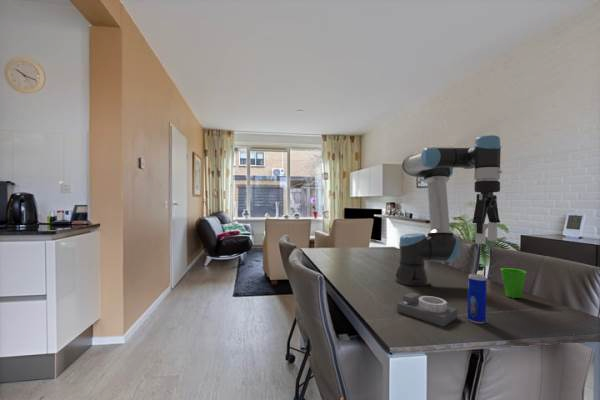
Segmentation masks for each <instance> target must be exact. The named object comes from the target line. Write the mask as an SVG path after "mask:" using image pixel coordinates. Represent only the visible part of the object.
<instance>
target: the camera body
mask: <svg viewBox="0 0 600 400" xmlns="http://www.w3.org/2000/svg"><path fill="white" fill-rule="evenodd" d="M396 312H397V313H400V314H404V315H407V316H410V317H412V318H415V319H418V320H419V319H420V320H422V321H424V322H427V323H431V324H434V325H436V326H440V327H446V326H447V325H448V324H450V323H452V322H453V321H455V320H457V319H458V308H455V307H451V306H449V305H448V302H447V300H445V299H443V298H440V297H437V296H432V295H431V296H430V295H420V293H417V292H416V293H415V292H412V291H411V292H409V293H407V294H403V300H401V301H399V302H397V303H396Z"/></svg>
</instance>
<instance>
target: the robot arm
mask: <svg viewBox="0 0 600 400" xmlns="http://www.w3.org/2000/svg"><path fill="white" fill-rule="evenodd" d="M501 148H502V146H501V139H500V136H499V135H494V134H493V135H492V134H490V135H481V136H478V137H476V138H475V140H474V146H472V147H425V148H424V149H423V150H422V152H421V153H420V154H410V155H408V156H406V157H405V158H404V159H403V160H402V163H401V164H402V165H401V167H402V170H403V172H404V173H405V174H406V175H408V176H411V177H413V178H415V177H416V178H423V182H424V183H425V184H426V185H427V195H428V197H427V198H428V212H429V213H428V214H429V226H430V227H429V228H430V230H428V232H427V236H426V234H425V233H419V232H418V233H406V234H402V235H401V236H400V237H399V245H398V246H399V253H398V255H399V257H398V258H399V259H398V260H399V263H398V267H397V270H396V273H395V274H394V275H395V276H394V277H395V279H394V281H395V282H397V283H399V284H401V285H405V286H410V287H411V286H412V287H423V286H425V287H426V286H428V285H429V277H428V274H427V270H426V266H425V264H426V261H427V262H443V263H447V262H455V261H456V260H457V259H458V257H459V255H460V252H461V243H460V240H459V238H457V236H454V235H455V234H454V232H453V231H452V230H451V227H450V218H449V217H450V216H449V204H448V191H447V182H448V181H449V180H450V177H452V175H453V173H454V171H453V170H454V168H455V169H456V168H458V169H459V168H460V169H461V168H462V169H465V170H468V169H469V170H472V169H474V176H473V177H474V180H475V182H474V193H477V194H476V202H475V208H474V213H473V219H472V224H475V235H474V236H475V238H474V239H475V241H474V242H475V244H482V245H486V227H487V241H490V242H491V241H492V242H498V223H499V224H500V223H501V219H500V216H499V211H498V210H499V209H498V201H497V200H498V199H497V198H498V197H497V195H496V194H494V193H499V192H501V182H500V181H499V180H501V174H502V173H503V170H501V154H502V153H501ZM486 217H487V219H488V222H487V226H486V223H485V221H486Z"/></svg>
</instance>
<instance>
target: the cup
mask: <svg viewBox="0 0 600 400" xmlns="http://www.w3.org/2000/svg"><path fill="white" fill-rule="evenodd" d="M499 270H500V271H501V277H502V283H503V288H504V295H505V296H506V297H507V296H509V297H512V298H511V299H514V298H520V299H521V298H522V293H523V289H524V284H525V280H526V274H528V272H527V271H526V270H522V269H518V268H510V267H508V268H507V267H504V268H500V269H499ZM509 297H508V298H509Z"/></svg>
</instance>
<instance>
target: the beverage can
mask: <svg viewBox="0 0 600 400" xmlns="http://www.w3.org/2000/svg"><path fill="white" fill-rule="evenodd" d="M486 317H487V277H486V275H483V274H478V273H469V274H468V277H467V319H468V321H470V322H472V323H474V324H481V325H482V324H484V323H486V320H487V318H486Z"/></svg>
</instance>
